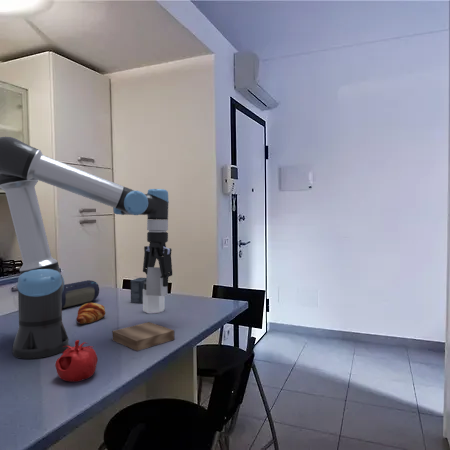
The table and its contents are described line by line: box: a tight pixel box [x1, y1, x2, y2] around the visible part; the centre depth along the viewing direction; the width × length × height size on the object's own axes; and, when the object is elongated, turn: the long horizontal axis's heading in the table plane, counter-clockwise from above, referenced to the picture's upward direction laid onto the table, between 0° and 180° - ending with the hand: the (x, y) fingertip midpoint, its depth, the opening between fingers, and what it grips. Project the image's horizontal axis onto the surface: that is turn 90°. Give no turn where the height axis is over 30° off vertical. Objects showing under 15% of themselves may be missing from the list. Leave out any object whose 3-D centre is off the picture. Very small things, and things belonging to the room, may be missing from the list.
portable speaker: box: [62, 279, 100, 309], centre depth 170 cm, size 25×10×10 cm, turn 148°
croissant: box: [75, 302, 106, 325], centre depth 148 cm, size 21×10×8 cm, turn 176°
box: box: [130, 277, 147, 305], centre depth 176 cm, size 8×6×11 cm
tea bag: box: [146, 266, 166, 296], centre depth 139 cm, size 4×7×10 cm, turn 86°
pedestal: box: [112, 321, 175, 352], centre depth 122 cm, size 14×14×3 cm
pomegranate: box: [54, 339, 98, 383], centre depth 95 cm, size 10×10×9 cm
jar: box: [142, 282, 166, 314], centre depth 159 cm, size 9×8×12 cm
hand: (156, 293), depth 139 cm, fingers closed on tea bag, 7 cm apart
